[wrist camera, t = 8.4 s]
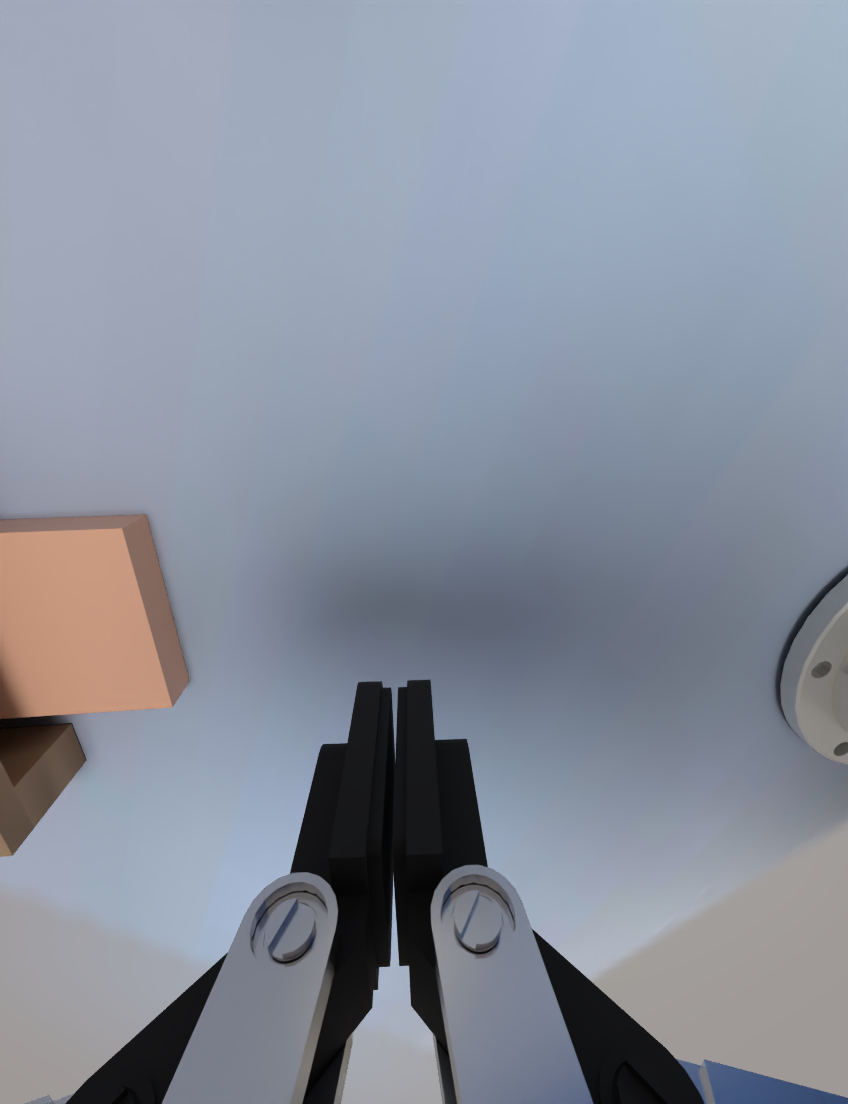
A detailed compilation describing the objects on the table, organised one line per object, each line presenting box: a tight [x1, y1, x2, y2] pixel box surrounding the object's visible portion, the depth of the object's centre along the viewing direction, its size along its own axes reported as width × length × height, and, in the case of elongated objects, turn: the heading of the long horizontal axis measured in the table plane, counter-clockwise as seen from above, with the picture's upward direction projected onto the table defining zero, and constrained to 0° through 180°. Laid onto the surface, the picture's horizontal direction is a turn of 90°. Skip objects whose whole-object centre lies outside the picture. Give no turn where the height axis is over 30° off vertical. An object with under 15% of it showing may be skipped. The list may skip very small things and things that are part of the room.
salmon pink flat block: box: [0, 515, 190, 719], centre depth 15 cm, size 11×7×2 cm, turn 91°
